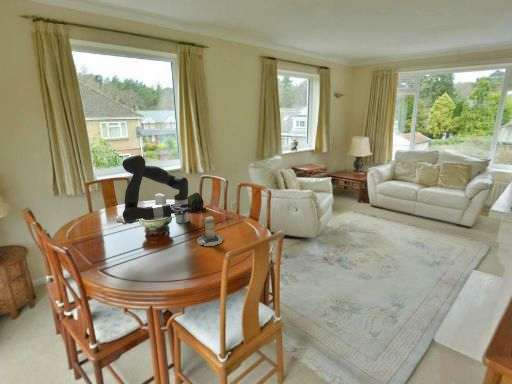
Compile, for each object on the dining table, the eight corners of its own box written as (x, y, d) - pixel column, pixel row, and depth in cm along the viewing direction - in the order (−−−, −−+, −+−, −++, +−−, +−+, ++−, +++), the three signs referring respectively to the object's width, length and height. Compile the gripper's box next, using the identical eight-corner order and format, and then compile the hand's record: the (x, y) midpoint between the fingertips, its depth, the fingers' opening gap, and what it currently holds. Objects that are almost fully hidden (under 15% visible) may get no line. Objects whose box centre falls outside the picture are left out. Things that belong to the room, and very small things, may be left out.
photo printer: (167, 208, 244) (166, 193, 241) (163, 209, 241) (162, 195, 238) (158, 206, 249) (157, 192, 246) (154, 207, 246) (153, 193, 243)
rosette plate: (194, 238, 184) (194, 233, 184) (218, 234, 191) (218, 229, 190) (200, 248, 170) (200, 243, 169) (226, 243, 177) (226, 238, 176)
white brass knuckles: (118, 225, 207) (115, 219, 219) (145, 220, 217) (140, 214, 229) (118, 220, 207) (114, 215, 218) (144, 216, 216) (139, 210, 228)
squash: (179, 203, 239) (188, 191, 232) (191, 199, 252) (200, 188, 245) (189, 216, 236) (199, 205, 229) (201, 212, 249) (210, 201, 242)
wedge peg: (205, 238, 181) (204, 217, 178) (212, 237, 183) (211, 216, 179) (207, 241, 177) (206, 219, 174) (214, 240, 179) (213, 218, 176)
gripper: (162, 208, 157) (192, 204, 163) (159, 201, 169) (187, 198, 175) (164, 221, 159) (193, 217, 165) (160, 213, 171) (188, 209, 178)
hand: (190, 207), depth 170 cm, fingers open, 8 cm apart
